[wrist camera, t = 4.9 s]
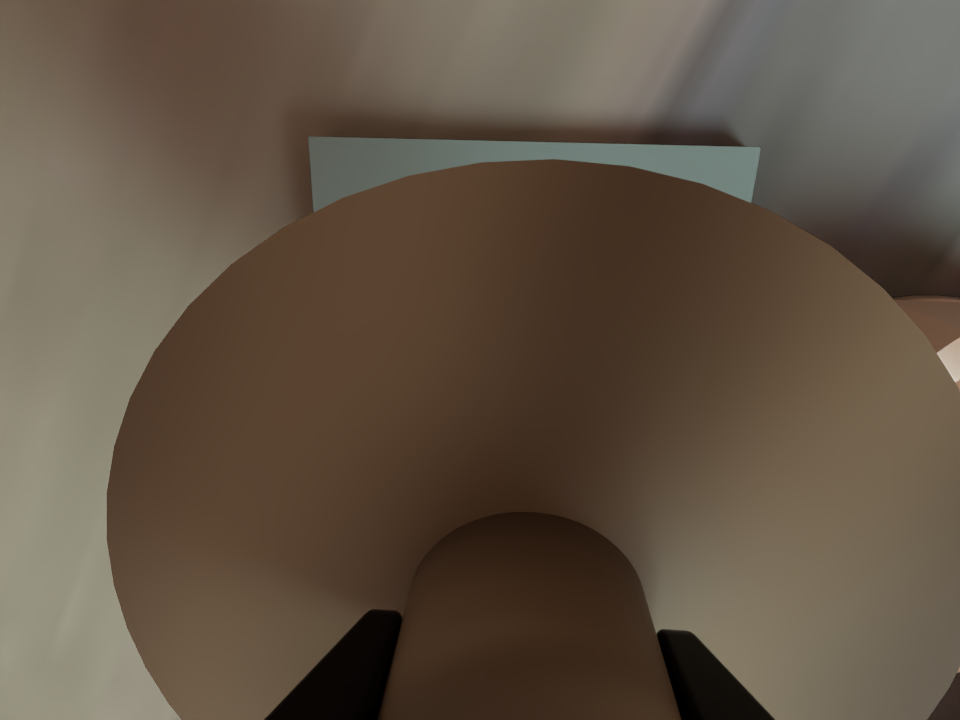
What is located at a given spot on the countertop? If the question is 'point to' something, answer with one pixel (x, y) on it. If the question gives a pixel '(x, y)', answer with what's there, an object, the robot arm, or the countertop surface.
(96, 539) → the countertop surface
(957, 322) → the bowl
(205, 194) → the countertop surface
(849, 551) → the lid
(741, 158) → the mat
